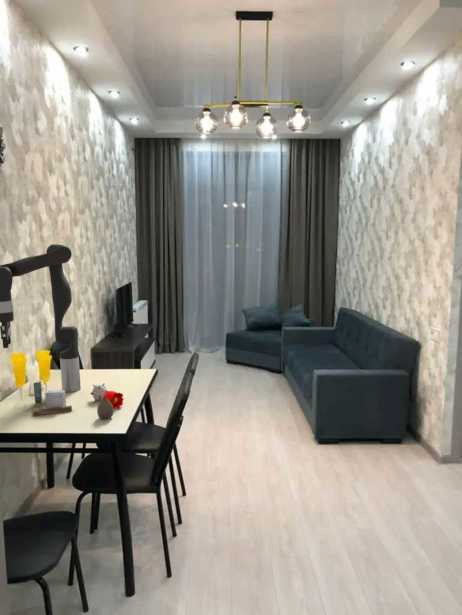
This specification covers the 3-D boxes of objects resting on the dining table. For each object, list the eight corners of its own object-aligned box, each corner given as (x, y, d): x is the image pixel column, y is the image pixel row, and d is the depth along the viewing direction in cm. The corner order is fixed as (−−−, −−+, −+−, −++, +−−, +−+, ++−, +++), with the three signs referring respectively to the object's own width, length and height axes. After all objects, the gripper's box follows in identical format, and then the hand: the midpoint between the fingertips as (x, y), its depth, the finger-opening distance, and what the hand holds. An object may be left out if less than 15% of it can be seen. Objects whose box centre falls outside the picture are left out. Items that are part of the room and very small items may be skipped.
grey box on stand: (35, 403, 240) (33, 382, 239) (71, 398, 245) (70, 378, 244) (32, 415, 223) (31, 393, 221) (71, 411, 228) (70, 389, 226)
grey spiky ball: (102, 408, 242) (102, 396, 235) (86, 402, 243) (86, 389, 236) (111, 395, 248) (112, 383, 241) (96, 388, 249) (96, 376, 243)
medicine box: (66, 408, 233) (65, 389, 232) (63, 411, 229) (62, 392, 227) (49, 408, 233) (48, 390, 232) (46, 411, 229) (44, 393, 227)
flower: (114, 391, 239) (126, 393, 234) (110, 407, 237) (121, 410, 233) (102, 388, 233) (113, 390, 228) (97, 405, 231) (109, 407, 226)
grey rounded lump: (99, 415, 222) (98, 396, 220) (115, 415, 222) (113, 395, 221) (96, 421, 215) (95, 401, 214) (112, 420, 215) (111, 400, 214)
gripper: (11, 312, 221) (14, 348, 223) (14, 308, 234) (17, 342, 237) (-8, 313, 219) (-5, 350, 221) (-3, 309, 232) (0, 343, 235)
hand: (7, 346), depth 229 cm, fingers open, 8 cm apart
